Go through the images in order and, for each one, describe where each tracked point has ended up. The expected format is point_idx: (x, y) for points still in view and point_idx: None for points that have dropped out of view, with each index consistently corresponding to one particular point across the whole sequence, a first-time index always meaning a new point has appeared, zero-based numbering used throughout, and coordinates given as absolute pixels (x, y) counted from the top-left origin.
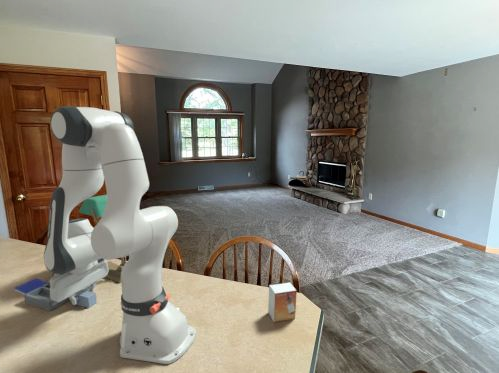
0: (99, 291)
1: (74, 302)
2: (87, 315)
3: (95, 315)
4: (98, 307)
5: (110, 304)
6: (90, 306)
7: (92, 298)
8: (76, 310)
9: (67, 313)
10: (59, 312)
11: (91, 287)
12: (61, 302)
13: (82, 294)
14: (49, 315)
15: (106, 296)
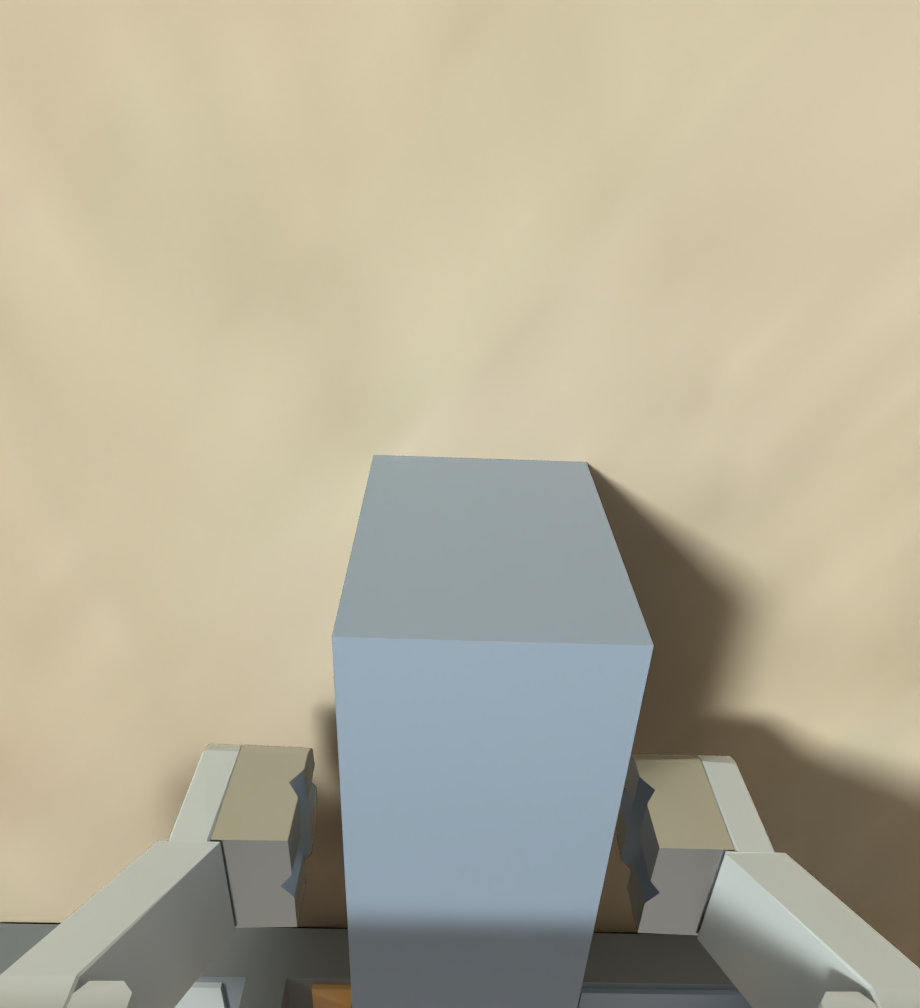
0: (28, 735)
1: (744, 812)
2: (869, 252)
3: (852, 5)
4: (497, 263)
5: (245, 8)
6: (554, 470)
7: (480, 571)
8: (720, 632)
9: (835, 697)
10: (820, 818)
11: (175, 940)
12: (623, 969)
13: (541, 891)
14: (912, 871)
15: (51, 463)
